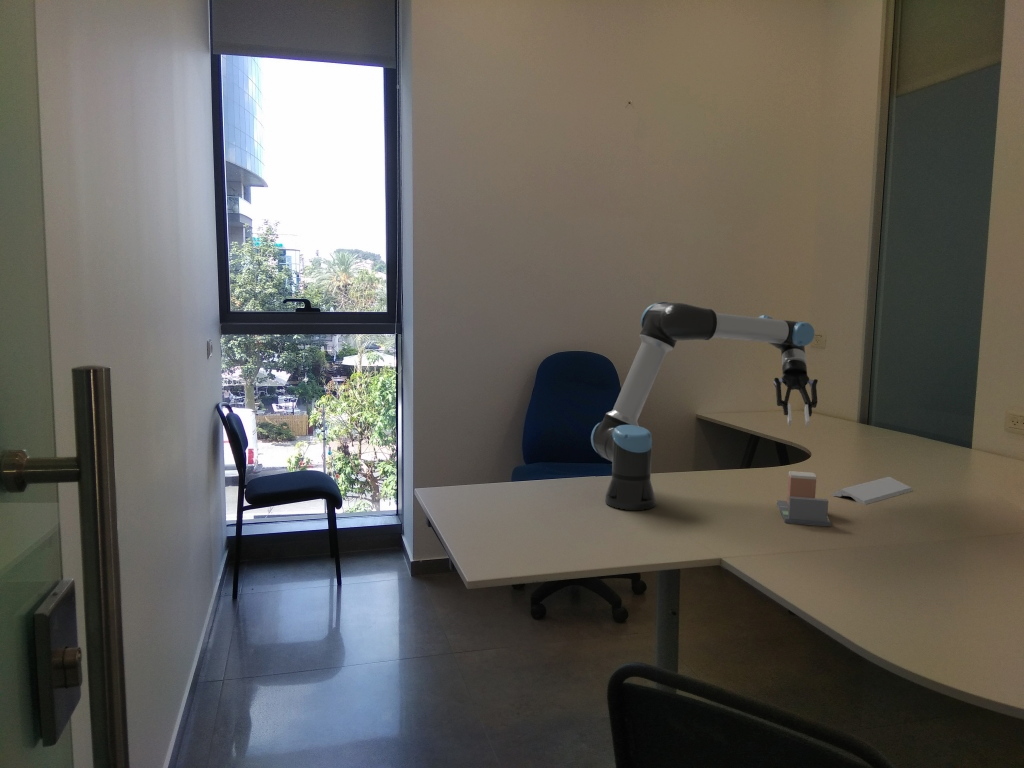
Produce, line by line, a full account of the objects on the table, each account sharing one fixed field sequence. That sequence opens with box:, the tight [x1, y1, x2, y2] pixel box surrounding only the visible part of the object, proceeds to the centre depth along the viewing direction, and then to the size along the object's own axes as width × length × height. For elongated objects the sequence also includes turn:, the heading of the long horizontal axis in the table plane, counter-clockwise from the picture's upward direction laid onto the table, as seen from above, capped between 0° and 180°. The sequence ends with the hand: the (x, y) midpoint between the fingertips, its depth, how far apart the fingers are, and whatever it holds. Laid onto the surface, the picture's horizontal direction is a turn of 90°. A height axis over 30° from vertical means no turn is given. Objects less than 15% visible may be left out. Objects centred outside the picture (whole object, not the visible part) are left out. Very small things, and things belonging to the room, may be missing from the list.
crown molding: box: [830, 476, 913, 505], centre depth 236 cm, size 29×12×4 cm, turn 125°
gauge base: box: [776, 496, 832, 528], centre depth 211 cm, size 12×19×7 cm, turn 166°
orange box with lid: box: [786, 470, 817, 506], centre depth 215 cm, size 7×5×10 cm
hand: (798, 423), depth 226 cm, fingers open, 4 cm apart
